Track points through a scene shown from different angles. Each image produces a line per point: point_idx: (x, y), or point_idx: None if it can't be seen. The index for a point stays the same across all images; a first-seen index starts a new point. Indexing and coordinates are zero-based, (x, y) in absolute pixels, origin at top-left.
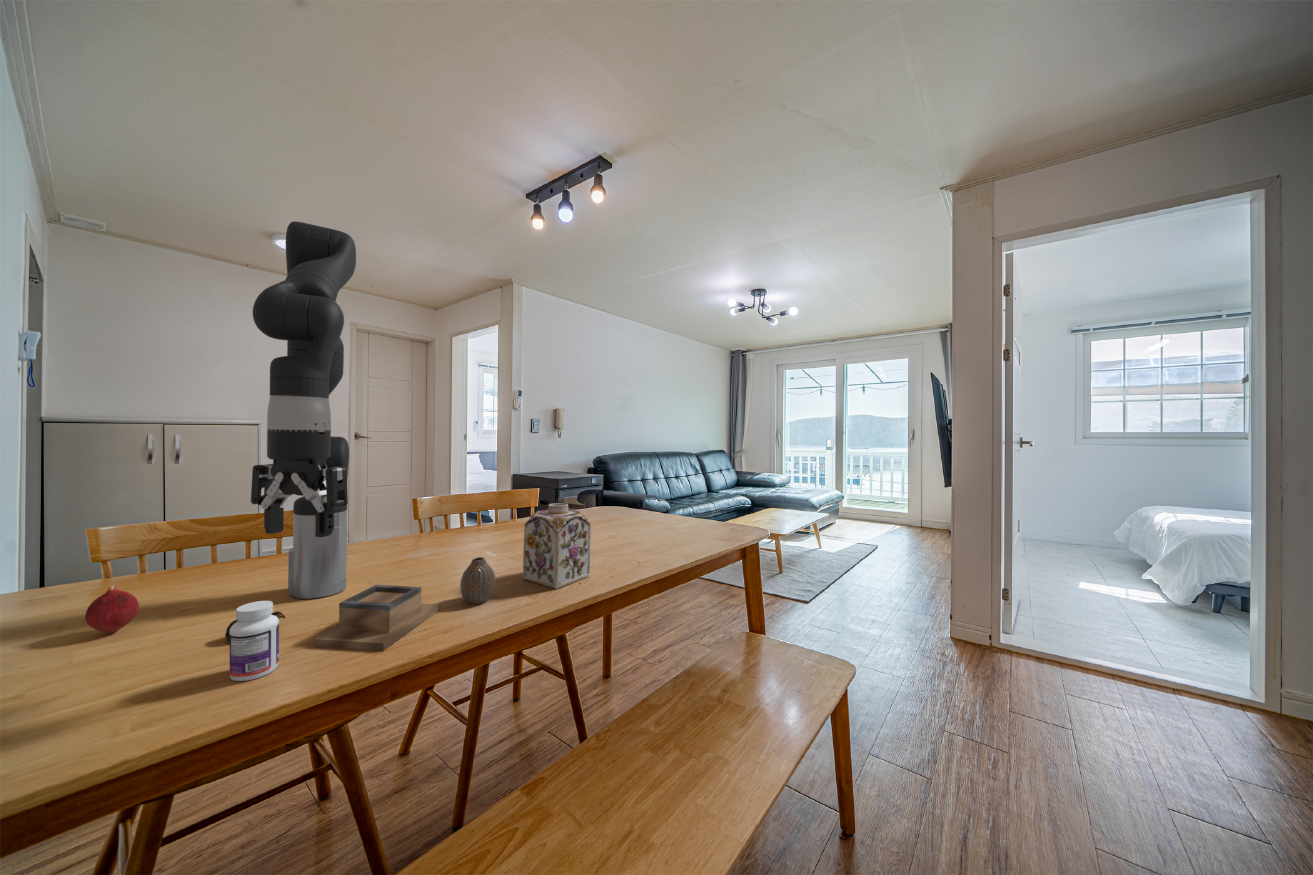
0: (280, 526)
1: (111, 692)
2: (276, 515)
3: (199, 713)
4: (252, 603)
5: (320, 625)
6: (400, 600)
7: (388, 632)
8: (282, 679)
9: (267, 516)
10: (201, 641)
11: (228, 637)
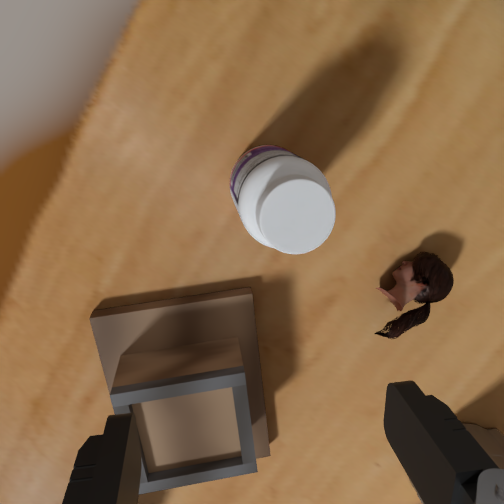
0: (394, 439)
1: (449, 61)
2: (429, 472)
3: (218, 42)
4: (320, 228)
5: (316, 353)
6: None
7: (122, 355)
8: (185, 173)
9: (445, 438)
10: (478, 243)
11: (425, 253)
